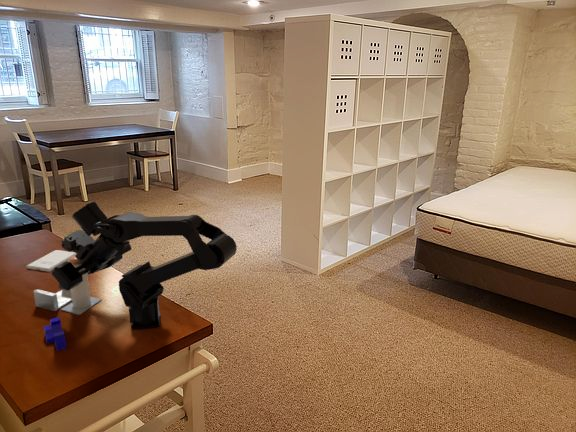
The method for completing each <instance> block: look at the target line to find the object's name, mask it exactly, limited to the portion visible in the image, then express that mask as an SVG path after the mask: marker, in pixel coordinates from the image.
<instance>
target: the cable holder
mask: <svg viewBox="0 0 576 432" xmlns="http://www.w3.org/2000/svg"><path fill="white" fill-rule="evenodd" d="M49 321H50V324H49V325H45V326H43V328H44V329H43V330H44V335H45V340H46V344H51V343H54V345H55V349H56V351H61V350H65V349H67V347H68V346H67V343H66V342H67V341H66V336H65V331H64V330H63V328H62V321H61V318H60V317H58V316H57V317H54V318H50V319H49Z"/></svg>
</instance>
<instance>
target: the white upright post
mask: <svg viewBox="0 0 576 432" xmlns="http://www.w3.org/2000/svg"><path fill="white" fill-rule="evenodd" d="M80 261H81V260H78V259H77V258H76V257H75V256H72V257H70V258H69V261H67V262H71V263H72V265H73V266H74V267H75V268H76V267H78V266H80V265H81V263H80ZM82 271H83V270H82ZM80 272H81V271H80ZM82 278H83V281H82V282H81V283H80V284H79V285H78V286H76V287H74V288H72V289H71V296H72V301H71V303H73V307H74V308H78V309H80V308H85V307H87V306H89V305H90V304H91V298H90V297H91V293H90V284H89V279H88V278H89V277H88V274H87V273H86V274H84V275H82Z"/></svg>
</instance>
